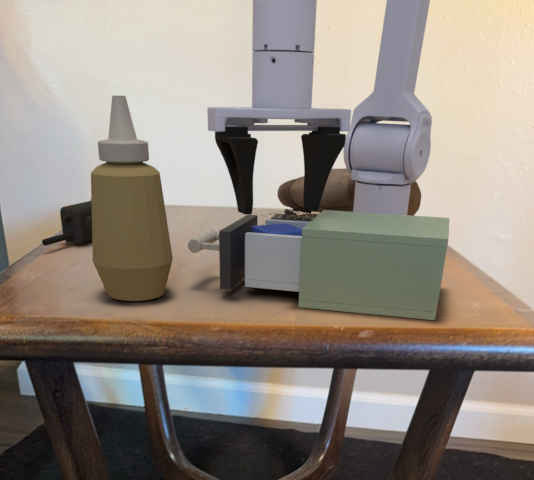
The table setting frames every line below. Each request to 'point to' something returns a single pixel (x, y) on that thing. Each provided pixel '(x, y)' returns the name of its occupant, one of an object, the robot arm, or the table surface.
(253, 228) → the blue rounded cube
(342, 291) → the drawer cabinet
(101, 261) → the squeeze bottle
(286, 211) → the knife
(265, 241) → the grey drawer
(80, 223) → the walkie-talkie
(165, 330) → the table surface
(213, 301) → the table surface
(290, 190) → the boot
